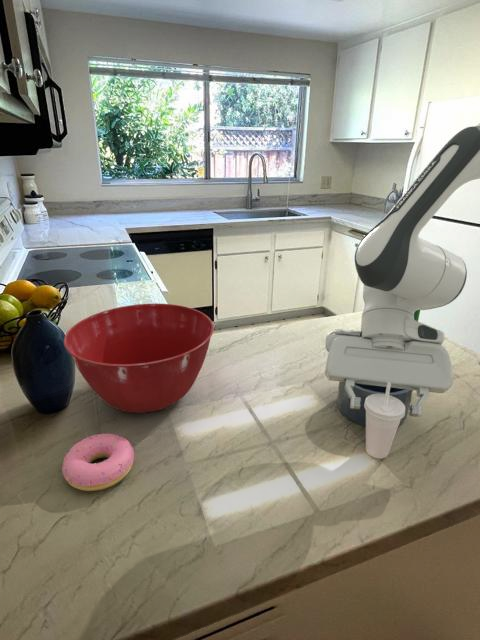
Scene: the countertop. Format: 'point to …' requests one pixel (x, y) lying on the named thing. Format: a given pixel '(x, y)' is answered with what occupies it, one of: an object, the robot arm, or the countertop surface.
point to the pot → (364, 392)
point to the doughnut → (98, 474)
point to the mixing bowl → (141, 353)
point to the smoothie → (382, 422)
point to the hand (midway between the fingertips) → (384, 412)
